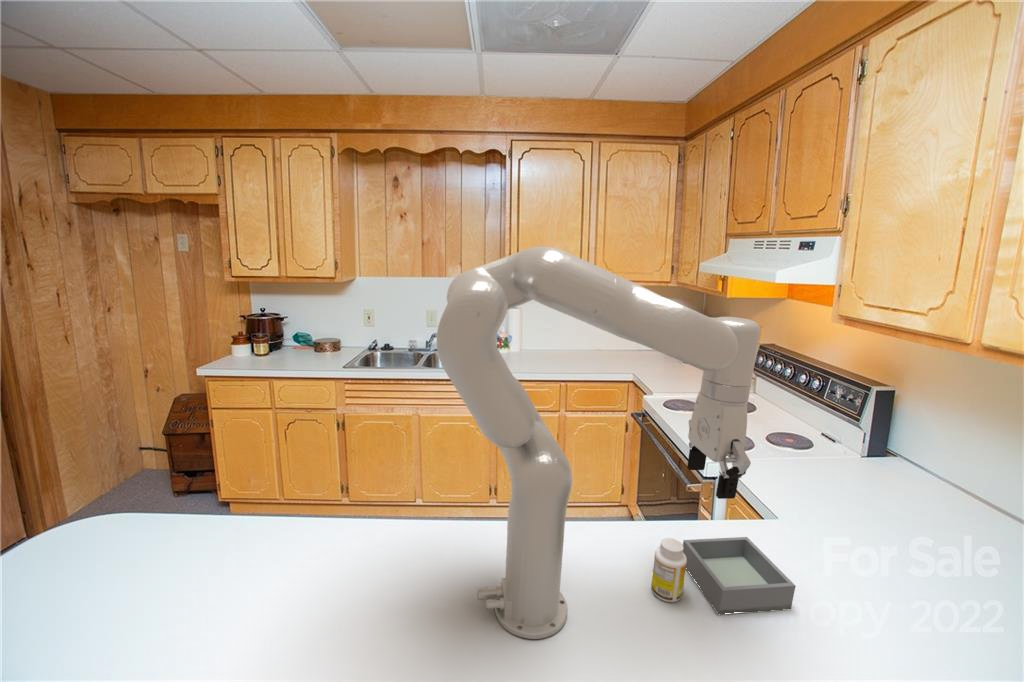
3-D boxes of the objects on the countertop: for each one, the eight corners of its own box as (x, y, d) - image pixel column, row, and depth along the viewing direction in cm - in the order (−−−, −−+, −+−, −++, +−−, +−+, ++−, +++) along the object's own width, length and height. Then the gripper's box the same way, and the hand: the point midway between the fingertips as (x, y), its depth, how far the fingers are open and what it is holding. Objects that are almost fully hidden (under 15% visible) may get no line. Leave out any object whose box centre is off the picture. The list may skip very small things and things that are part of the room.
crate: (718, 615, 83) (722, 590, 82) (680, 561, 96) (683, 540, 95) (790, 609, 85) (795, 585, 84) (743, 558, 98) (746, 536, 97)
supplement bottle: (673, 581, 91) (680, 534, 88) (687, 603, 85) (694, 553, 83) (646, 582, 90) (651, 535, 88) (657, 604, 85) (663, 554, 82)
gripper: (679, 375, 87) (667, 460, 91) (734, 408, 70) (716, 511, 74) (717, 376, 88) (703, 460, 92) (779, 409, 71) (760, 510, 75)
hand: (709, 482), depth 83 cm, fingers open, 9 cm apart
